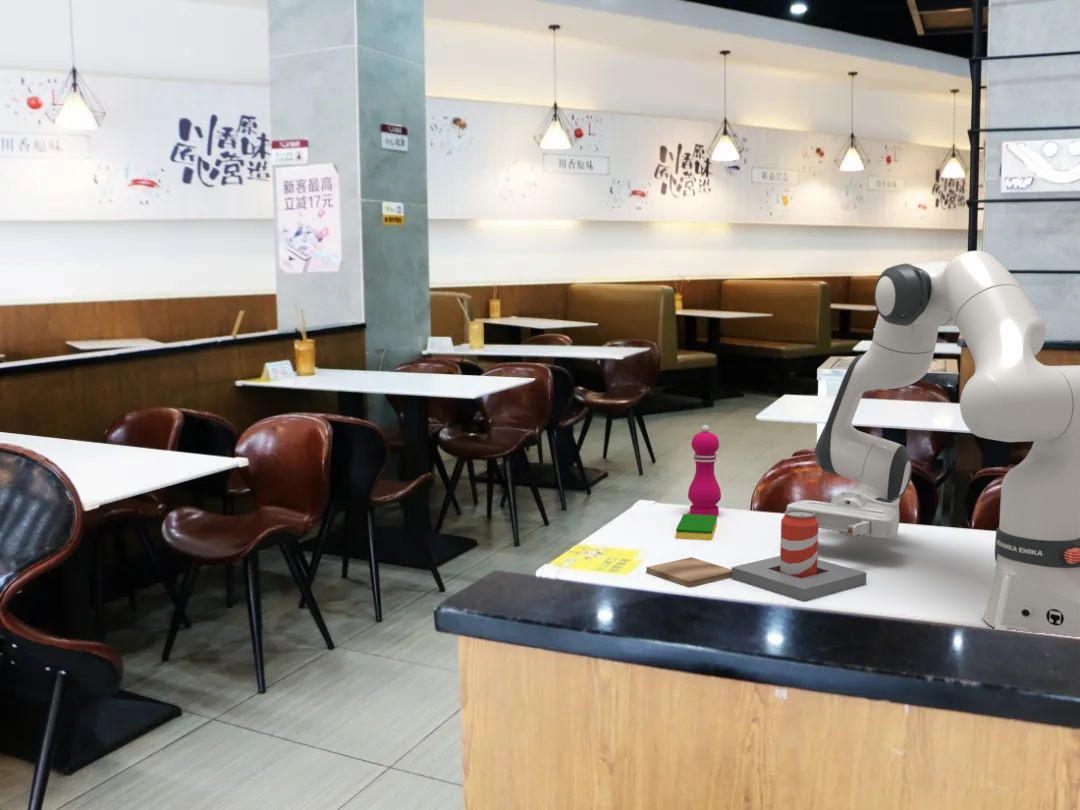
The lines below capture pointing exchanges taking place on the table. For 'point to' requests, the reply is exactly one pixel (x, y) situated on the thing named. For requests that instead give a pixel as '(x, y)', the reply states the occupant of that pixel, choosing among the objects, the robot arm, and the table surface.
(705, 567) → the coaster pad
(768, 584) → the dock
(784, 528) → the beverage can
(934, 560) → the table surface
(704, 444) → the pepper mill
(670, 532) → the table surface
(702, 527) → the dish sponge
